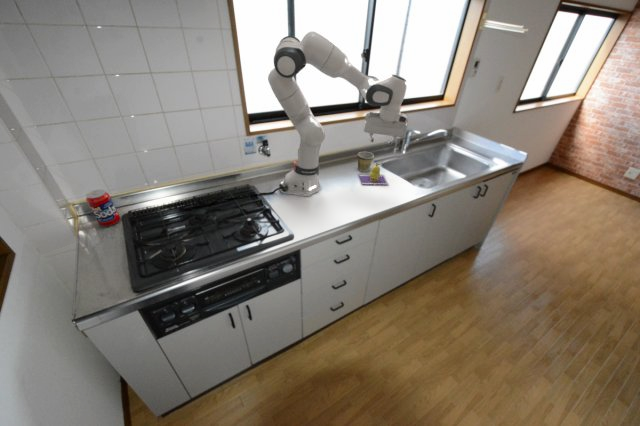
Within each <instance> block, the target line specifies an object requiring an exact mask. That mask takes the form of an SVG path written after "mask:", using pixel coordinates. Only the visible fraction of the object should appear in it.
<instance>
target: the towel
mask: <svg viewBox="0 0 640 426" xmlns="http://www.w3.org/2000/svg"><path fill="white" fill-rule="evenodd" d="M358 177H359V180H360V182H361V185H362V186H388V183H387V181H386V179H385V177H384V175H383V174H380V177H379V178H378V181H376V182H373V181H371V180H370V174H358Z"/></svg>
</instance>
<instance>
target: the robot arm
mask: <svg viewBox="0 0 640 426" xmlns="http://www.w3.org/2000/svg"><path fill="white" fill-rule="evenodd" d="M307 64H308V65H310V66H313V67H314V68H315V69H316V70H319V72H321V73H322V74H324V75H326V76H327V77H330V78H333V79H336V78H341V79H344V80H345V81H346V82H348V83H349V84H350V85H352V86H354V87H355V88H356V89H357V90H358V92H359V94H360V96H361V97H362V98H363V99H364V100H365V102H366V103H367V104H368V105H369V106H372V107H380V109H379V112H373V111H370V112H367V113H366V114H365V118H364V120H365V121H364V124H363V126H362V129H363V132H364V133H366V134H367V133H368V135H369V137H370V138H369V143H374V141H375V137H373V135H382V136H391V137H392V138H391V139H389V140H388V142H387V144H388V145H391V146H392V145H393V143H394V141H396V139H397V137H398V138H404V137H405V136H406V135H407V134H406V133H407V129H408V121H409V118H408V116H407V115H406V114H405V113H402V112H401V108H402V104H403V101H404V99H405V96H406V92H407V86H408V82H407V80H406V79H405V78H404V77H402V76H400V75H397V74H390V76H388V77H385V78H383V79H378V78H377V77H376V76H373V75H367V74H365V73H363V72H362V71H360V70H359V69H358V68H356V67H355V66H354V65H353V64H352V63H351V62H350V61H349V58H348V56H347V55H346V53H345V52H344V51H343V50H342V49H341V48H340V47H339V46H338V45H336V44H335V42H333V41H331V40H330V39H329V38H327V37H325V36H324V35H322V34H320V33H318V32H316V31H309V32H307V33H306V34H305V35H304V36H303V37H302V39H301V40H300V39H299V38H297V36H296V37H295V36H293V35H287V36H285V37H282V38H281V39H280V41H279V43H278V45H277V46H276V48H275V54H274V56H273V67H274V68H272V69H271V71H270V72H269V73H268V76H267V81H268V83H269V86H270V89H271V91H272V92H273V94H274V96H275V98H276V100H277V101H278V103H279V104H280V106H281V108H282V110H283V111H284V113H285V114H286V116H287V117H288V119H289V121H290V122H291V124H292V125H293V127H294V129H295V130H296V132H297V133H298V135H299V140H300V141H299V146H298V149H297V161H293V163H292V165H293V169H292V170H290V171H288V172H287V173H286V174H285V176H284V178H283V179H282V181H280V183H279V187H276V188H275V189H274V190H273V191H270V192H259V193H260V195H259V196H261V195H264V196H265V195H273V194H275V193H276V192H277V191H279V190H280V193H282V194H285V195H292V196H293V195H295V196H303V197H311V195H313V194H315V193H318V192H319V191H320V190H321V185H320V184H321V183H320V180H319V174H320V163H319V161H320V160H319V159H320V149H321V147H322V144H323V142H324V141H325V137H326V133H325V130H324V126H323V125H322V123H320V121H318V120H317V118H316V117H315V115H314V114H313V112H312V110H311V108H310V106H309V103H308V101H307V98H306V97H305V95H304V93H303V92H302V90H301V88H300V86H299V84H298V82H297V81H296V79H295V76H296V75H298V74H299V73H300V72H301V71H302V70H303V69H304V68H305V67H306V65H307ZM245 195H246V196H242V195H239V196H240V197H238V198H237V199H241V198H247V197H254V196H253V195H248V194H245ZM221 200H222V201H220V200H218V201H219V202H217V203H216V204H220V203H222V202H227V201H228V200H224V199H221ZM193 209H194V208H190V209H186V210H193Z"/></svg>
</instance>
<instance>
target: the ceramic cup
mask: <svg viewBox="0 0 640 426" xmlns="http://www.w3.org/2000/svg"><path fill="white" fill-rule="evenodd" d="M374 157H375V155H374V153H372V152H371V151H360V152H357V170H358V171H359V172H362V173H364V172H368V171H370V169H371V165H372V163H373V160H374Z"/></svg>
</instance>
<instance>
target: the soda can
mask: <svg viewBox="0 0 640 426" xmlns="http://www.w3.org/2000/svg"><path fill="white" fill-rule="evenodd" d="M85 197H86V198H85V202H86V203H87V205H88V207H89V209H90V211H91V212H92V213H93V216H94V217H95V219H96V221H97V223H98V225H99V226H101V227H111V226H114V225H116V224H117V223H119V221H120V220H121V216H120V214H119V212H118V210H117V208H116V205H115V203H114V201H113V200H112V198H111V196H110V193H108V192H107V191H106V190H105V189H95V190H92V191H89V192H88V193H86V194H85Z"/></svg>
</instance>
